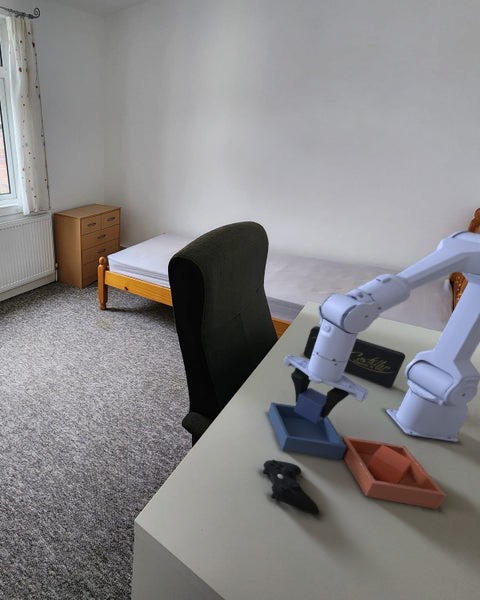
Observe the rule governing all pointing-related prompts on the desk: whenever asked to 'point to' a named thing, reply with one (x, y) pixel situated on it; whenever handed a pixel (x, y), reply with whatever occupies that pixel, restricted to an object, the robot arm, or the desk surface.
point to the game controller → (288, 486)
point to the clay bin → (410, 489)
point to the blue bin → (305, 433)
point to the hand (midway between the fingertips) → (311, 408)
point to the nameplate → (366, 360)
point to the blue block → (310, 405)
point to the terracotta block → (388, 465)
